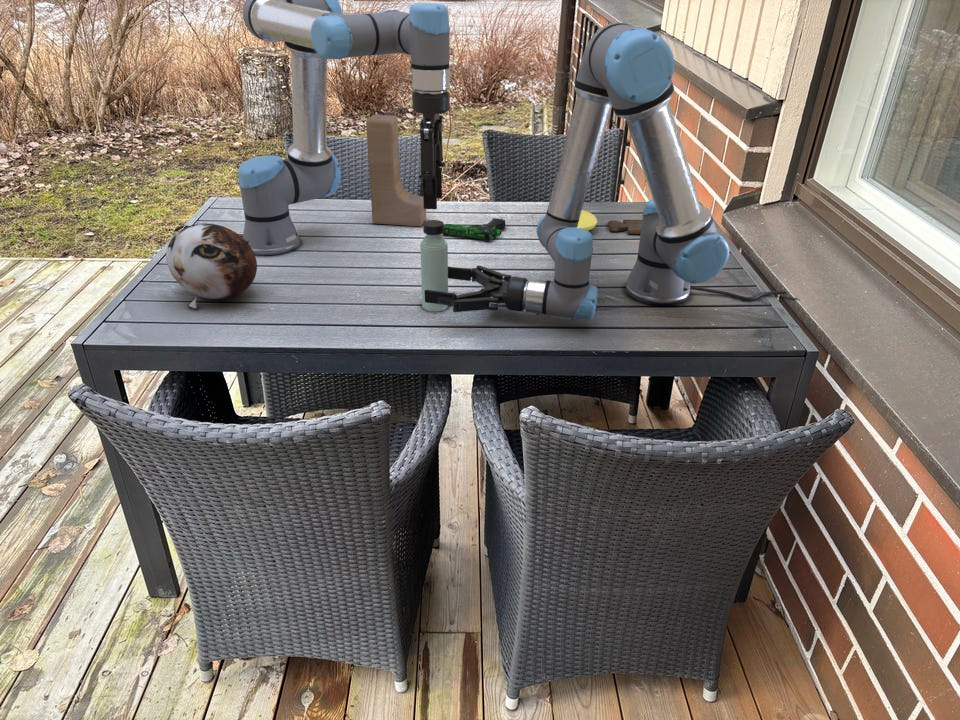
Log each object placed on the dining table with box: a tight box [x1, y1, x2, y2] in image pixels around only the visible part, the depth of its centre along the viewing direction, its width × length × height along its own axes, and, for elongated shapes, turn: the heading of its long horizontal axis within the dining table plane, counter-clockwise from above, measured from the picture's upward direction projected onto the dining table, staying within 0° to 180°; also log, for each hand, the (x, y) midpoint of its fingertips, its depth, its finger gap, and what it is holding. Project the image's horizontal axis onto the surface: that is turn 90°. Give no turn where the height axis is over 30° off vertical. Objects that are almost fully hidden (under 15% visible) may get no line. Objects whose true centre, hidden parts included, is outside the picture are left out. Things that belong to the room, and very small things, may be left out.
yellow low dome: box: [577, 209, 598, 231], centre depth 209 cm, size 16×16×7 cm
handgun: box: [441, 217, 506, 242], centre depth 207 cm, size 16×3×15 cm
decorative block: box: [365, 114, 427, 227], centre depth 207 cm, size 8×15×30 cm, turn 82°
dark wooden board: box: [607, 219, 642, 235], centre depth 211 cm, size 26×2×10 cm
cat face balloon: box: [165, 222, 258, 309], centre depth 165 cm, size 22×18×20 cm
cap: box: [422, 219, 445, 235], centre depth 157 cm, size 4×4×2 cm
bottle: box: [419, 234, 449, 312], centre depth 161 cm, size 6×6×20 cm
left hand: (433, 202), depth 154 cm, fingers open, 7 cm apart
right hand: (434, 283), depth 162 cm, fingers open, 13 cm apart
